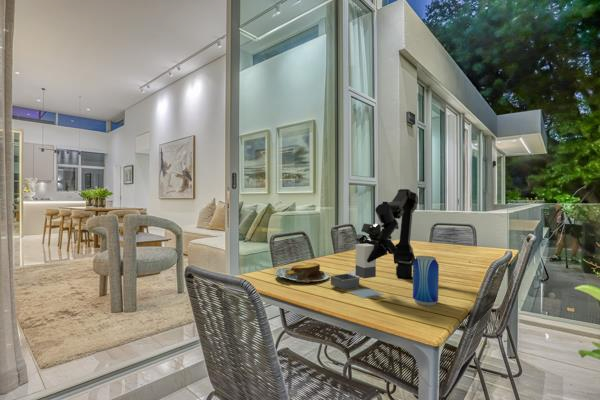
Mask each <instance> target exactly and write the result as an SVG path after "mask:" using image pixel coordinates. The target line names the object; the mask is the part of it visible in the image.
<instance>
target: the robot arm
mask: <svg viewBox="0 0 600 400" xmlns="http://www.w3.org/2000/svg"><path fill="white" fill-rule="evenodd" d="M418 204H419V195H418V194H417V193H415V192H414V191H411V189H409V188H400V189H398V190H397V193H396V195H395V196H394V198H393V199H392V200H391V201H382V203H380V204H378V205H377V206H376V207H375V208H374V209H375V210H374V211H375V213H376V216H377V218H378V221H379V222H380V224H378V223H374V224H371V223H363V225H362V228H361V232H362V233H365V234H360V233H358V234H357V235H356V236H355V237H354V239H355V241H357V243H359V244H371V245H374V249H373V251H372V252H371V254H370V256H369V257H368V259H367V262H368V263H369V262H371V261H373V260H375V259H376V260H377V259H379V258H381V257H385V256H387V255H388V254H389V255H392V258H393V264H396V266H395V276H396V277H397V279H406V280H413V262H414V261H415V259H416V256H415V253H414V249H413V247H412V245H411V233H412V232H411V231H412V225H413V224H412V223H413V213H414V212H415V211H416V209H417V206H418ZM397 219H398V220H400V219H401V222H400V226H399V222H398V221H397ZM399 227H400V233H399V234H400V235H399V241H398V243H396V244H394V242H393V241H392V240H391V239H393V238H392V236H391V235H392V234H393V232H394V231H395V230H399ZM366 234H367V235H366Z"/></svg>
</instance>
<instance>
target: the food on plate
mask: <svg viewBox="0 0 600 400" xmlns="http://www.w3.org/2000/svg"><path fill="white" fill-rule="evenodd" d="M320 268H321V265H320V263H316V262H313V263H308V264H297V265H293V266H284V267H279V268H277V269H275V270H274V271H273V273H274V274H275V275H276V276H277V278H285V279H289V280H292V281H296V282H297V283H298V282H300V283H307V284H308V283H311V282H320V281H321V282H322V281H325V280H327V279H329V278H330V276H329V275H330V274H329V275H327V274H328V273H327V272H325V271H323V270H320ZM325 273H326V274H325ZM317 279H318V280H317Z"/></svg>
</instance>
